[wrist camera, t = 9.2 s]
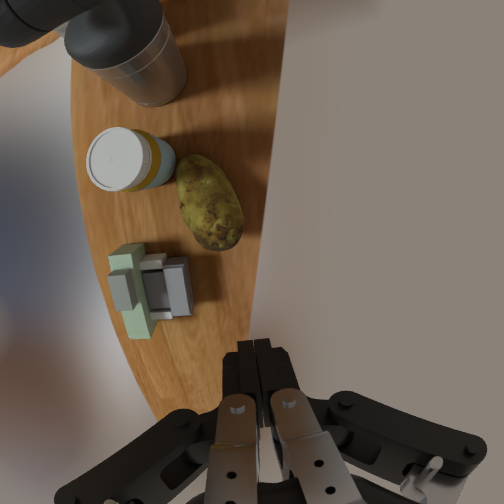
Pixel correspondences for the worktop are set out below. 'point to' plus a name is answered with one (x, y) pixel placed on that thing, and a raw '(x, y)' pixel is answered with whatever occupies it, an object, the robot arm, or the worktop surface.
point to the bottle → (129, 160)
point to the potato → (208, 203)
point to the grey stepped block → (170, 287)
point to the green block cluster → (135, 289)
